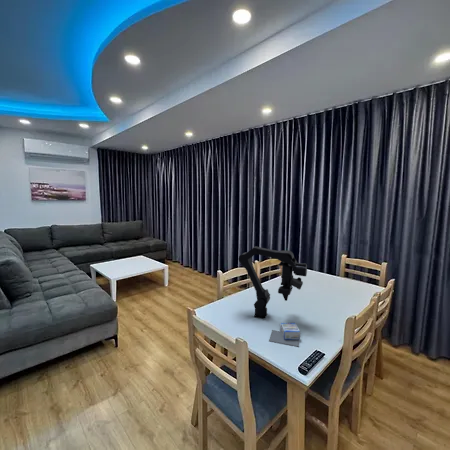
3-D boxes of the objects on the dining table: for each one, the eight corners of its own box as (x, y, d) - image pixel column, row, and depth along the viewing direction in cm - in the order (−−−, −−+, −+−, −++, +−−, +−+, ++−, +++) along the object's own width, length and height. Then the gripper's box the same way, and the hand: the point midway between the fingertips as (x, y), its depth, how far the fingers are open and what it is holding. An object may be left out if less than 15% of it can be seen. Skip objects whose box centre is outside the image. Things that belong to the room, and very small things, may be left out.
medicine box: (295, 322, 126) (300, 331, 118) (295, 330, 127) (300, 340, 118) (280, 322, 126) (284, 331, 118) (280, 330, 127) (284, 340, 118)
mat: (269, 341, 118) (269, 340, 118) (272, 330, 127) (272, 329, 127) (298, 347, 113) (298, 346, 113) (299, 335, 123) (299, 334, 123)
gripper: (300, 281, 122) (299, 310, 124) (303, 270, 139) (302, 296, 141) (278, 278, 127) (277, 306, 129) (284, 268, 144) (283, 293, 146)
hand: (286, 300), depth 136 cm, fingers closed
